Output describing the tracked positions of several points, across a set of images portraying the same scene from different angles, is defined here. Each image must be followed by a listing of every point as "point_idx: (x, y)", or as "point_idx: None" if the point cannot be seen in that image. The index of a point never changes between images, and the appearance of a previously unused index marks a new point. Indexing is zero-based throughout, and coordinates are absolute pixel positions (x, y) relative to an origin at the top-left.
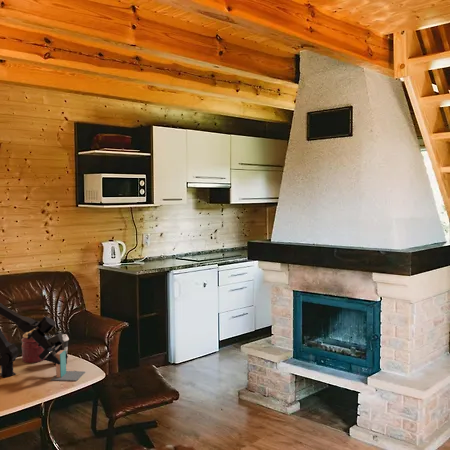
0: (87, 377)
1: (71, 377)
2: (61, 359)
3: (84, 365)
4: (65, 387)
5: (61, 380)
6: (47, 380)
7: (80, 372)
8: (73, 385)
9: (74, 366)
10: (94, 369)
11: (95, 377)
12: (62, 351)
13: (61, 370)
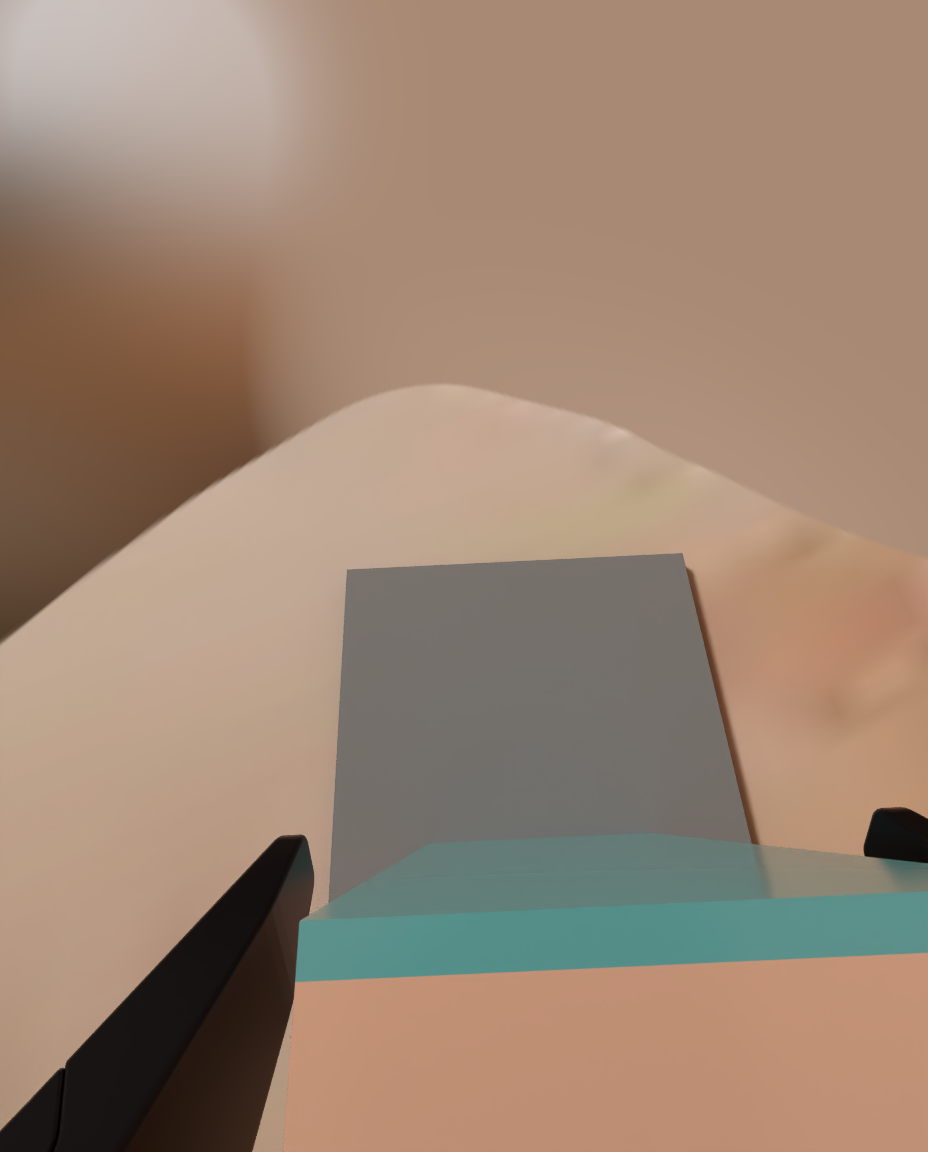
0: (517, 483)
1: (608, 658)
2: (765, 860)
3: (32, 707)
4: (919, 606)
5: (729, 782)
6: None
7: (390, 614)
8: (814, 537)
9: (47, 868)
10: (229, 507)
11: (502, 405)
12: (576, 1015)
13: (670, 838)
